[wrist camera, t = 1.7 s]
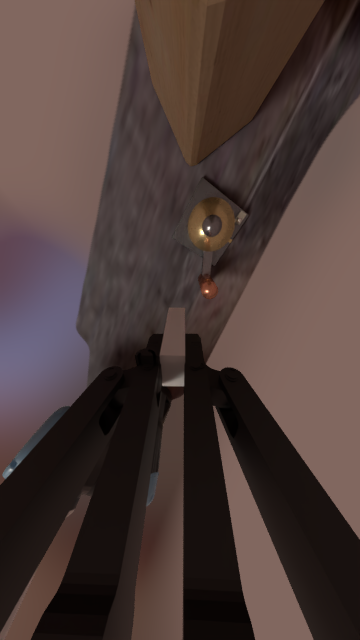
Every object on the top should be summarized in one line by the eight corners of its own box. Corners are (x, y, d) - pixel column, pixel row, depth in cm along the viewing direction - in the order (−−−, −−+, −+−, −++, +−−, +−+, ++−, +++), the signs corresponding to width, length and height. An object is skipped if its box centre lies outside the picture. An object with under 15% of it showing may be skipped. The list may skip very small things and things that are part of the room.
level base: (213, 264, 29) (215, 267, 27) (172, 237, 27) (171, 237, 25) (246, 215, 26) (252, 214, 24) (201, 179, 23) (203, 174, 21)
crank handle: (222, 285, 30) (232, 299, 24) (185, 284, 30) (186, 298, 24) (234, 199, 24) (252, 188, 17) (188, 199, 24) (190, 188, 18)
